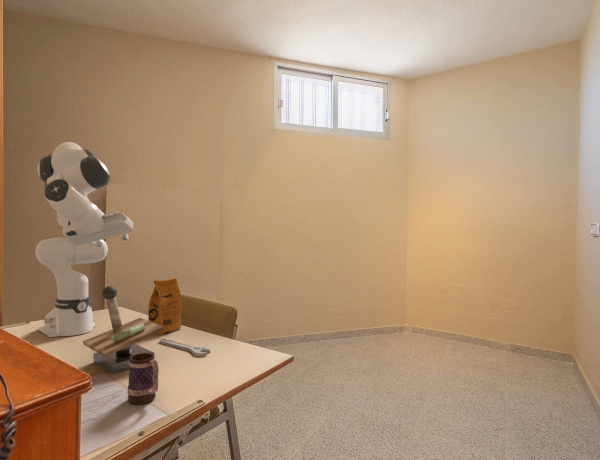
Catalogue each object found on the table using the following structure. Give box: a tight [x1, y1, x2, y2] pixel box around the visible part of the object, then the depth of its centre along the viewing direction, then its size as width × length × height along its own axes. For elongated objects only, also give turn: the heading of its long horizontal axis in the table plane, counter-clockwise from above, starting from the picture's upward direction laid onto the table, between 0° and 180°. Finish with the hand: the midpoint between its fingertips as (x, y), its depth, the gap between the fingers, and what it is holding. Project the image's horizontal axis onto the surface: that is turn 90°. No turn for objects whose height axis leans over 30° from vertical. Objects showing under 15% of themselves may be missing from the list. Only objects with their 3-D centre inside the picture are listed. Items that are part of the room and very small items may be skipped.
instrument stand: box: [92, 343, 155, 375], centre depth 132 cm, size 14×14×8 cm
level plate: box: [82, 285, 164, 357], centre depth 130 cm, size 16×20×17 cm
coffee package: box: [147, 277, 182, 335], centre depth 167 cm, size 10×12×22 cm
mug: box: [127, 353, 160, 406], centre depth 105 cm, size 10×7×12 cm
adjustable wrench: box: [159, 338, 211, 358], centre depth 147 cm, size 25×6×2 cm, turn 54°
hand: (113, 241), depth 136 cm, fingers open, 8 cm apart
